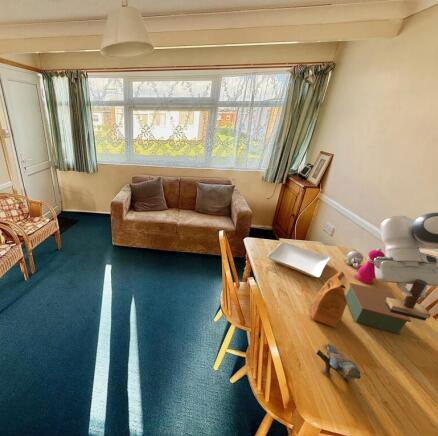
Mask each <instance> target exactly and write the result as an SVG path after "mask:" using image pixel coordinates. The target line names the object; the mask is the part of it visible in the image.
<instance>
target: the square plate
mask: <svg viewBox="0 0 438 436" xmlns="http://www.w3.org/2000/svg"><path fill="white" fill-rule="evenodd" d="M266 257H267V258H268V259H269V260H271V261H273V262H274V263H277V264H280V265H283V266H285V267H287V268H289V269H292V270H294V271H297V272H300V273H302V274H304V275H307V276H309V277H312V278H321V276H322V274H323V272H324V269H325V267H327V266H326V265H327V264H328V263H329V262H330V260H331V257H330V256H328V255H325V254H323V253H320V252H317V251H314V250H312V249H309V248H305V247H303V246H299V245H297V244H294V243H291V242H287V241H281V242H280V243H279V244H278V245H277V246H276V247H275V248H274V249H273V250H272V251H271V252H269V254H268V255H267V256H266Z"/></svg>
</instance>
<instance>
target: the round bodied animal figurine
mask: <svg viewBox="0 0 438 436" xmlns="http://www.w3.org/2000/svg"><path fill="white" fill-rule="evenodd" d="M363 260H364V256H363V254H362V253H361V252H360V251H357V250H356V251H355V250H352V251H350V252H348V253H347V254H346V258H345V260H344V261H346V262H345V264H347V265H348V266H352V267H353V268H356V269H357V268H358V269H359V268H360V266H361V264H362V262H363Z"/></svg>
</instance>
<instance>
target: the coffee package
mask: <svg viewBox="0 0 438 436" xmlns="http://www.w3.org/2000/svg"><path fill="white" fill-rule="evenodd" d="M345 276H346V275H345V273H344V271H341V270H340V271H338V273H336V274H335V275H333V276H332V277H330V278H329V279H328V280H327V281H326V282H324V284H323V286H322V287H321V288H320V289H319V291H318V293H317V294H316V296H315V298H314V300H313V302H312V305H311V307H310V310H311V311H310V313H311V318H312V320H313V321H316V322H319V323H322V324H325V325H327V326H330V327H334V328H336V326H337V325H338V322H339V321H340V320H341V319H342V318H343V315H344V312H345V310H346V307H347V304H348V303H347V300H346V297H345V296H346V294H345V290H344V289H346V285H344V283H343V282H342V281H341V280H342V279H343V278H345Z"/></svg>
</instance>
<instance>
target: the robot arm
mask: <svg viewBox="0 0 438 436" xmlns="http://www.w3.org/2000/svg"><path fill="white" fill-rule="evenodd" d="M379 227H380V228H379V229H380V235H381V236H380V237H381V240H382V243H383V244H384V246H385V248H384V249H385V250H384V251H385V257H377V258H375V260H374V264H375V276H376V278H375V279H376V280H377V281H378V282H380V283H390V284H391V283H393V284H396V287H397V288H398V289H399V290H400V291H401V292H402V295H403V296H402V297H406V296H408V297H412V292H411V291H410V290H409V289H408V288H407V286H408V285H413V284H414V282H415V280H416V279H420V280H423V281H425V282H427V283H428V284H427V286H426V288H425V289H424V291H423V293H422V294H421V296H420V298H419V299H425V298H426V297H427V296H426V291H427V289H428V286H429V287H438V257H436V256H433V255H430V254H427V253H425V252H422V251H421V250H420V249H427V250H438V212H437V211H436V212H429V213H425V214H423V215H421V216H418V217H417V218H413V217H412V218H411V217H408V216H406V215H396V216H391V217H388V218H386V219H384V220H383V221H382V222H380V226H379Z"/></svg>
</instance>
